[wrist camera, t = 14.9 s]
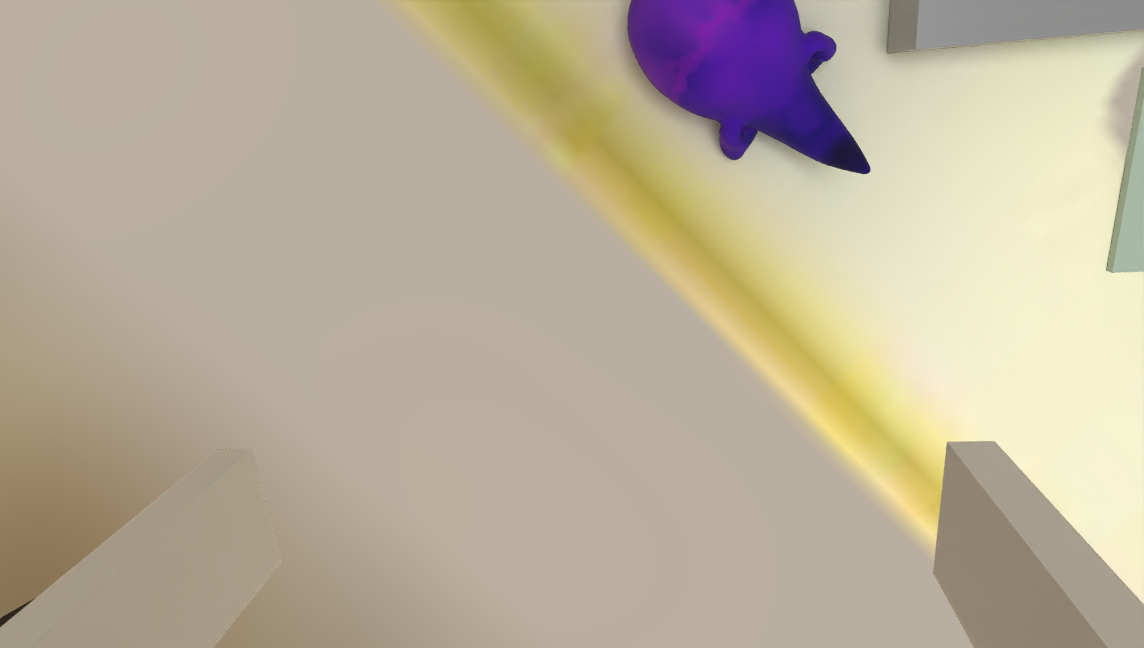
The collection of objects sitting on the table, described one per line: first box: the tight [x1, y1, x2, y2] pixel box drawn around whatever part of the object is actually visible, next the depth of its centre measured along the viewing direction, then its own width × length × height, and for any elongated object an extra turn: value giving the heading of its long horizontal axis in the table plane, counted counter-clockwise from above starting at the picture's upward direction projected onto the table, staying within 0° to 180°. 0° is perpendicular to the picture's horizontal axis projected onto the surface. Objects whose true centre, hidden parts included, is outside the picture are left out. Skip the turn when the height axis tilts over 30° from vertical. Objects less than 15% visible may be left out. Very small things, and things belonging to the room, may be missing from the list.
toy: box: [628, 0, 870, 174], centre depth 38 cm, size 9×10×15 cm
